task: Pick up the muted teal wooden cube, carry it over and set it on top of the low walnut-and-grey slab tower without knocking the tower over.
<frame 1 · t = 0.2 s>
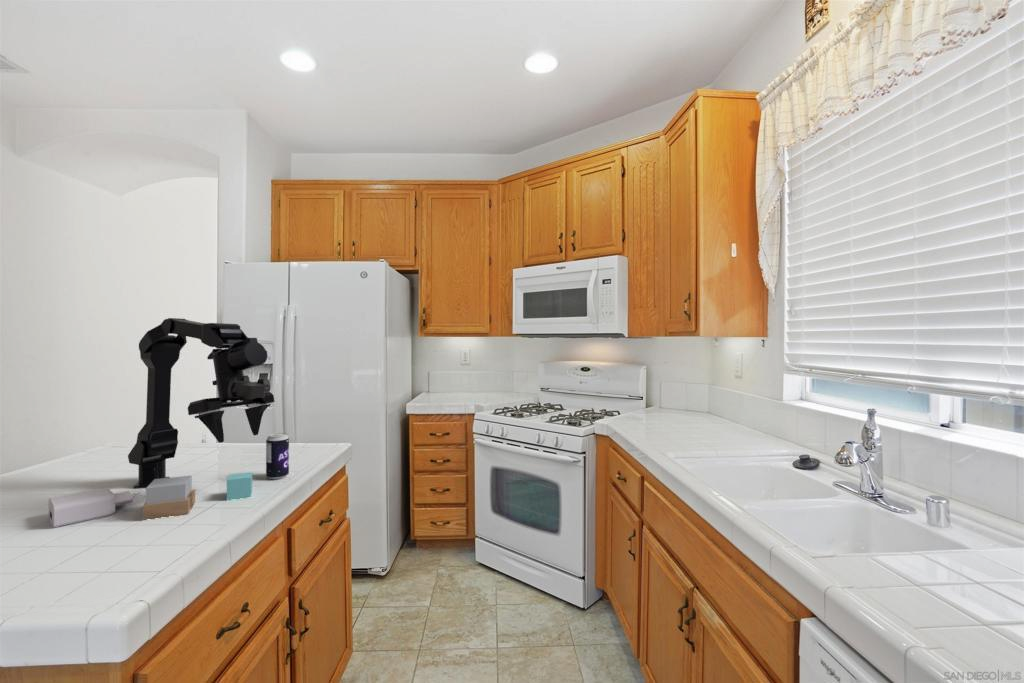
hand: (239, 438, 108), 15 cm above the countertop, tool pointing down, fingers open, 9 cm apart
beverage can: (277, 478, 127), on the countertop
teal cube: (239, 496, 112), on the countertop
tower top: (169, 497, 102), point 3 cm above the countertop
tower base: (170, 512, 102), on the countertop
charger: (98, 514, 101), on the countertop
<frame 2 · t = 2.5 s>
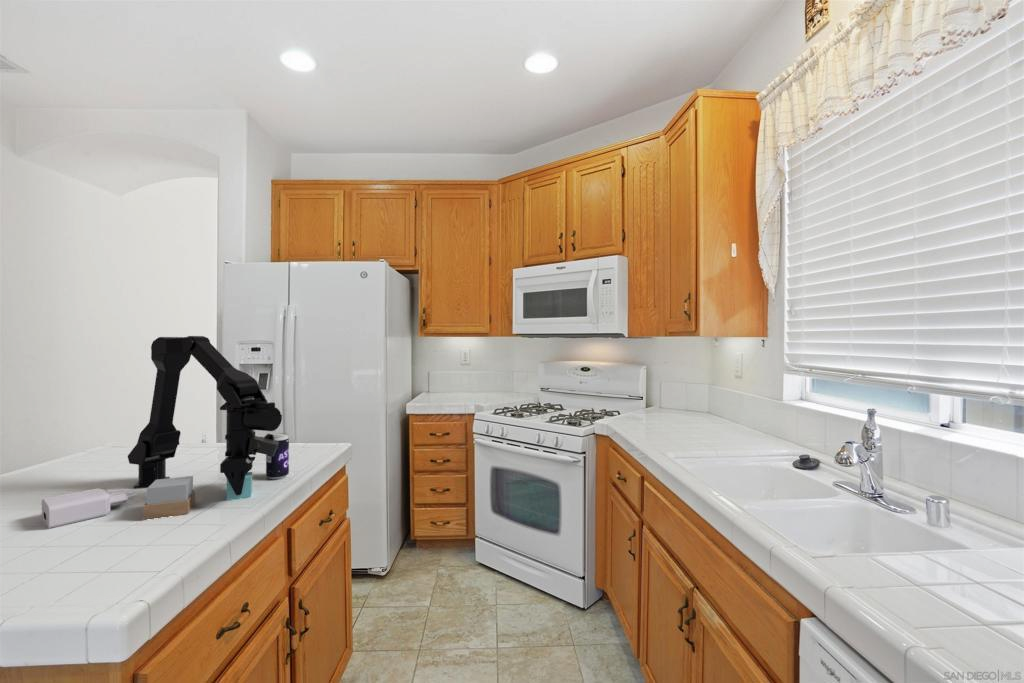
hand: (239, 491, 112), 1 cm above the countertop, tool pointing down, fingers closed on teal cube, 5 cm apart
teal cube: (239, 495, 112), on the countertop, touching gripper
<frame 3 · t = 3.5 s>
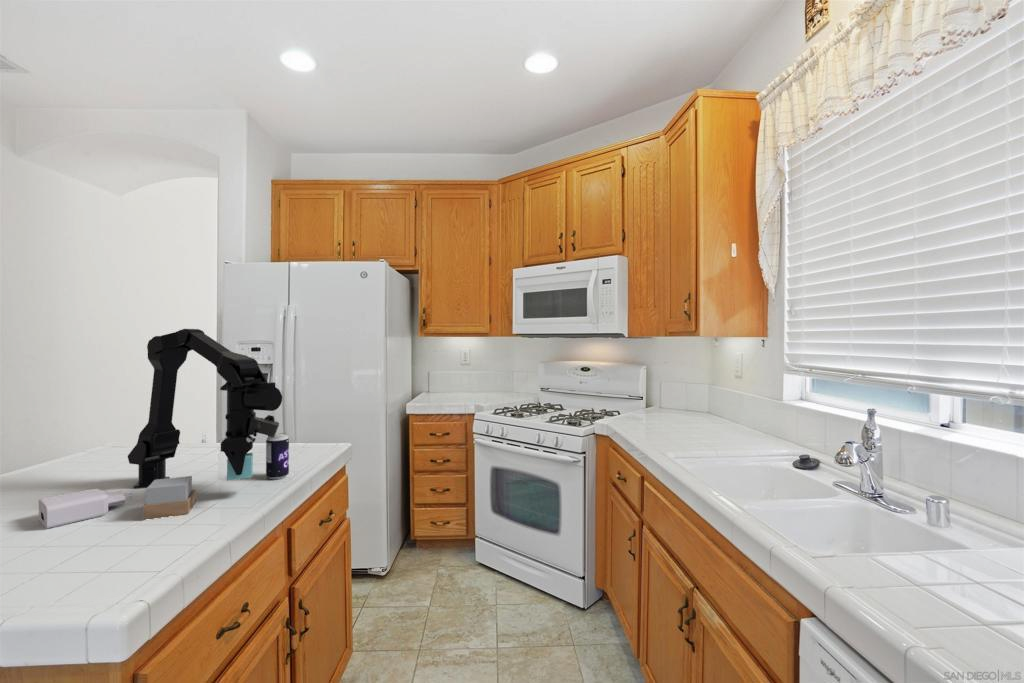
hand: (240, 471, 112), 6 cm above the countertop, tool pointing down, fingers closed on teal cube, 5 cm apart
teal cube: (240, 476, 112), point 5 cm above the countertop, touching gripper
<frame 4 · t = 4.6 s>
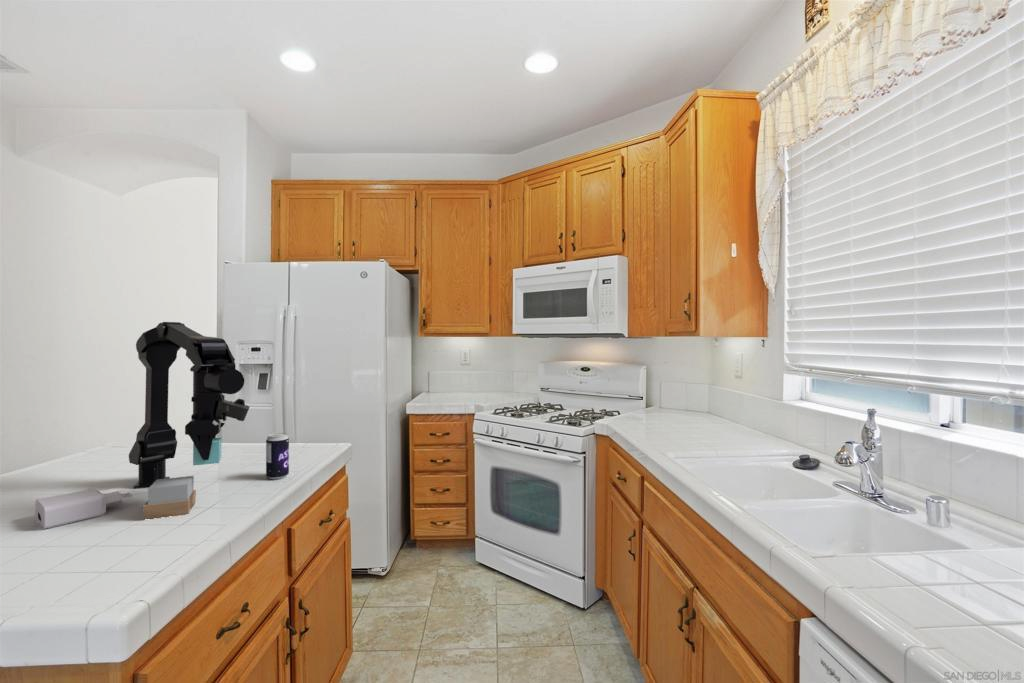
hand: (207, 457, 107), 11 cm above the countertop, tool pointing down, fingers closed on teal cube, 5 cm apart
teal cube: (207, 461, 107), point 10 cm above the countertop, touching gripper
tower top: (171, 497, 102), point 3 cm above the countertop, touching tower base
tower base: (170, 513, 102), on the countertop, touching tower top
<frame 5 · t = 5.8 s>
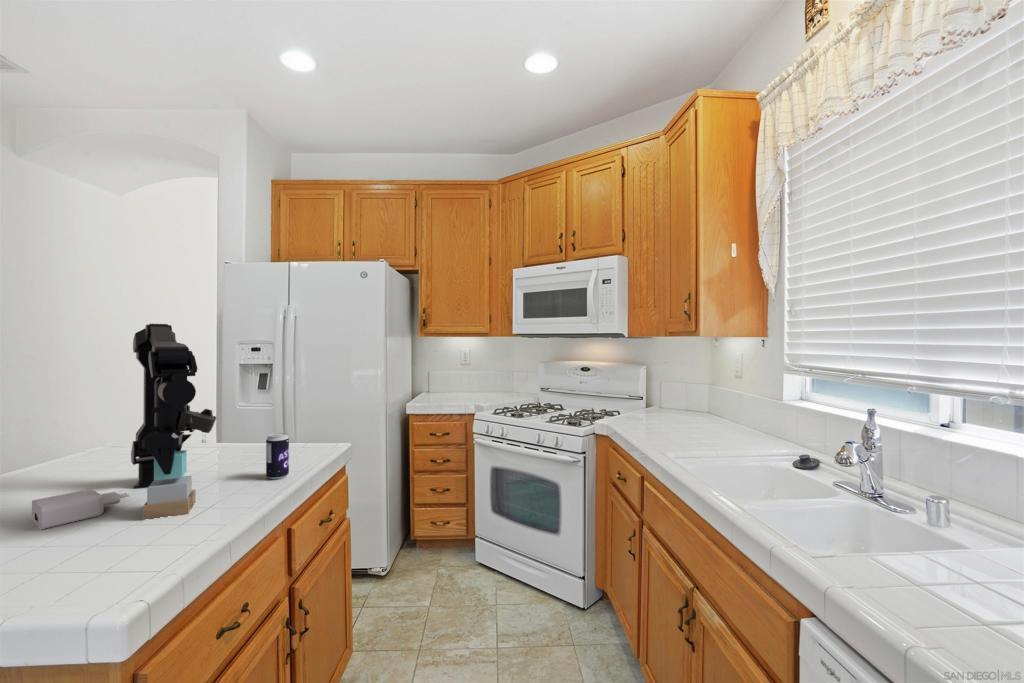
hand: (170, 471, 102), 9 cm above the countertop, tool pointing down, fingers closed on teal cube, 5 cm apart
teal cube: (170, 475, 102), point 8 cm above the countertop, touching gripper
when the fingers open (9 cm above the countertop, at t = 5.8 s): teal cube drops 1 cm, resting on tower top.
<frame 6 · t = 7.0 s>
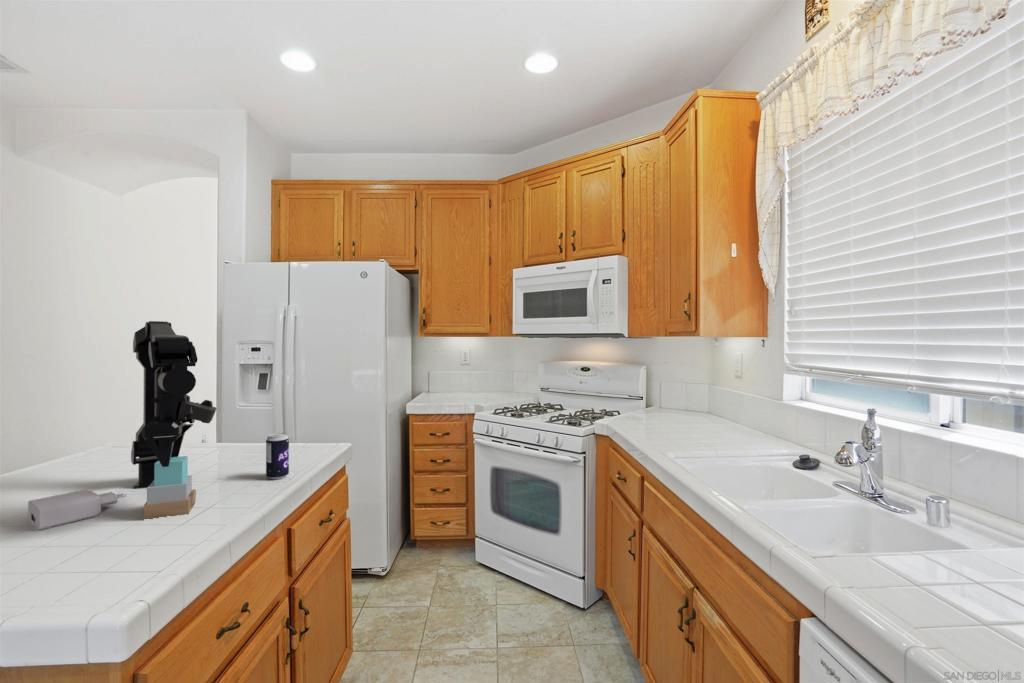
hand: (170, 461, 102), 11 cm above the countertop, tool pointing down, fingers open, 9 cm apart
teal cube: (171, 481, 102), point 7 cm above the countertop, touching tower top
tower top: (170, 497, 102), point 3 cm above the countertop, touching teal cube, tower base
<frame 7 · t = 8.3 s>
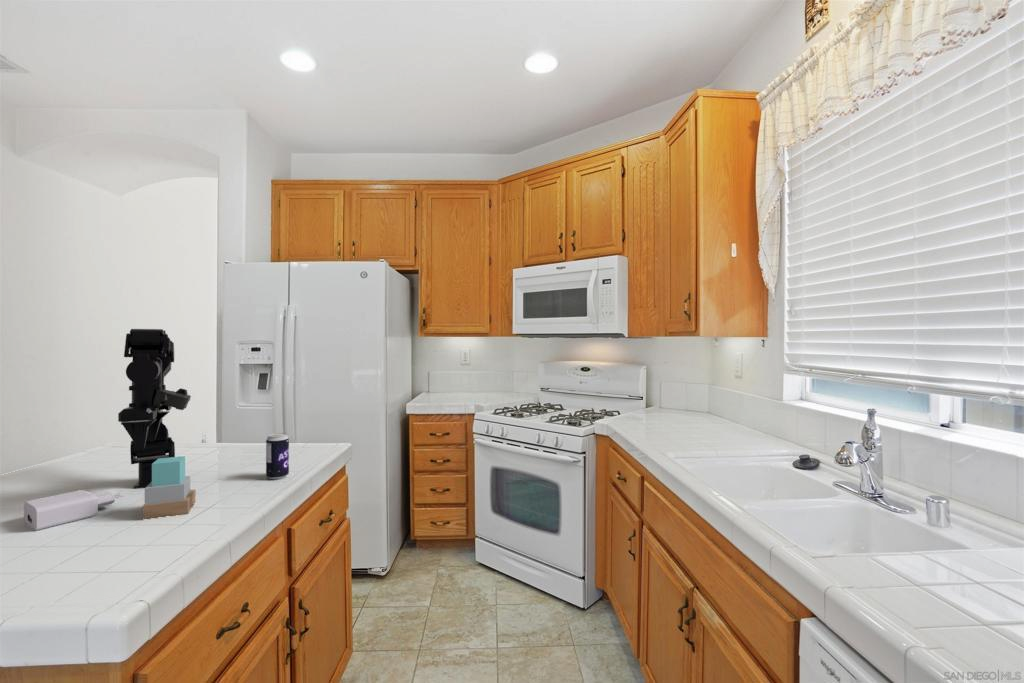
hand: (146, 445, 110), 13 cm above the countertop, tool pointing down, fingers open, 9 cm apart
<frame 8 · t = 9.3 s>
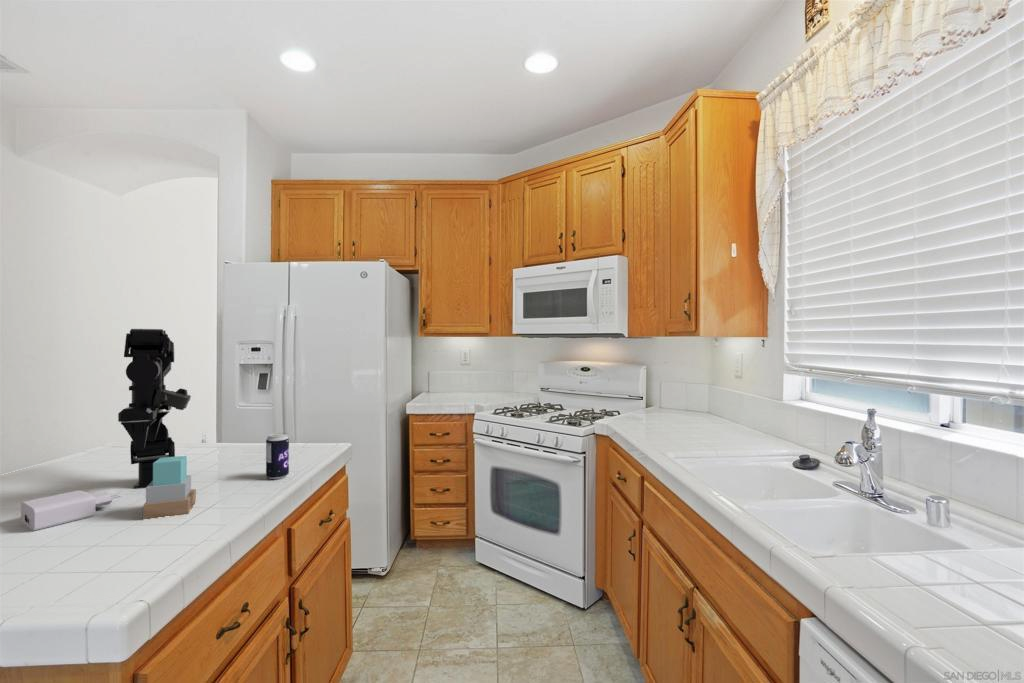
hand: (146, 445, 110), 13 cm above the countertop, tool pointing down, fingers open, 9 cm apart
teal cube: (170, 481, 102), point 7 cm above the countertop
tower top: (169, 496, 102), point 3 cm above the countertop, touching tower base
at the end: teal cube 0.4 cm off-centre on the tower top, point 3.5 cm above the tower top's base; tower top 0.3 cm off-centre on the tower base, point 3.5 cm above the tower base's base; tower base moved 0.5 cm from its start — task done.
